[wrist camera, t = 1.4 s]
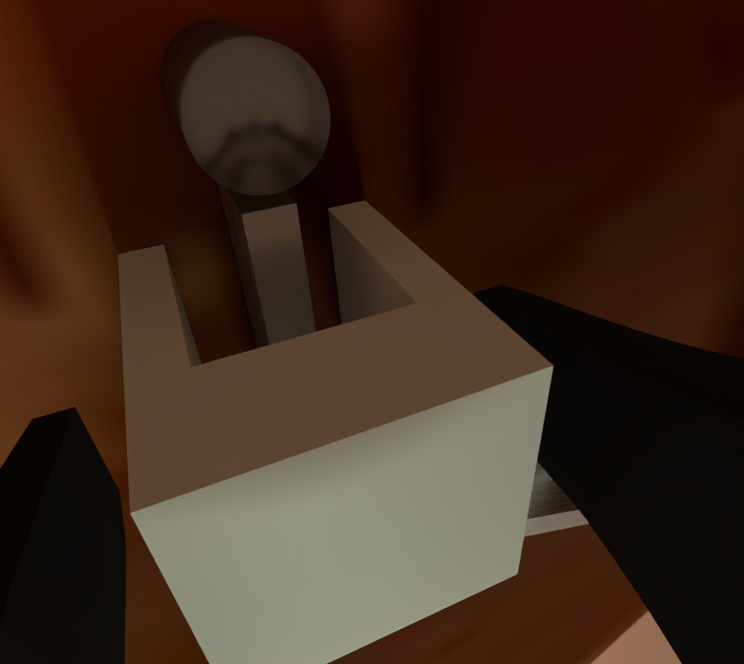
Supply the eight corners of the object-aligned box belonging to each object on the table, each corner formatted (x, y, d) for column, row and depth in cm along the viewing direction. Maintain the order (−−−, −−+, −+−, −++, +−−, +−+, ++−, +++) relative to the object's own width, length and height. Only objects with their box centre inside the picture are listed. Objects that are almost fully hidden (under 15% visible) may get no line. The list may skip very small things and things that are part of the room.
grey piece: (493, 544, 21) (542, 616, 18) (-19, 251, 9) (-63, 352, 6) (602, 448, 20) (667, 510, 18) (214, -9, 8) (258, -1, 6)
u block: (377, 370, 14) (516, 574, 9) (184, 430, 12) (232, 708, 8) (364, 200, 11) (553, 365, 6) (118, 254, 10) (129, 513, 5)
